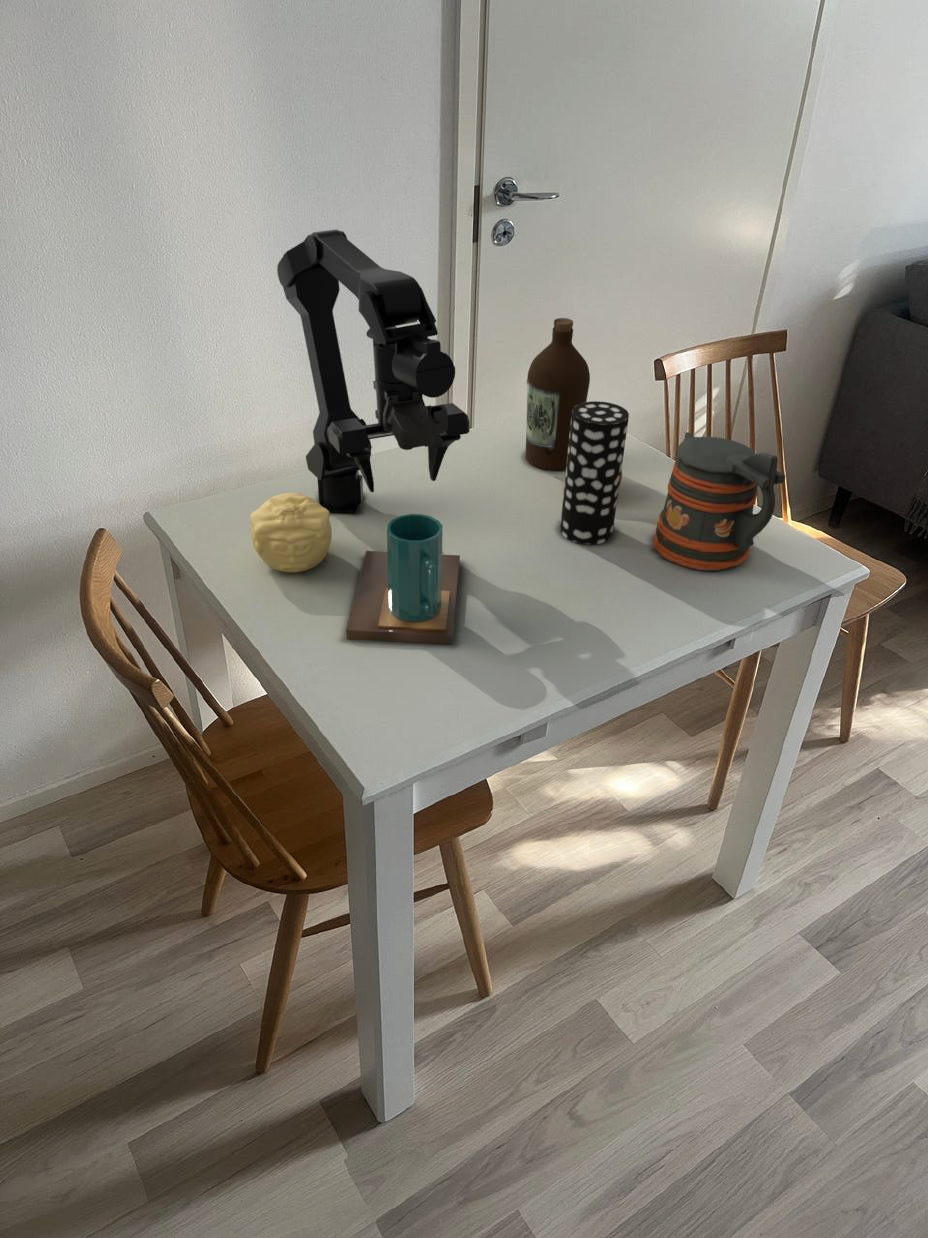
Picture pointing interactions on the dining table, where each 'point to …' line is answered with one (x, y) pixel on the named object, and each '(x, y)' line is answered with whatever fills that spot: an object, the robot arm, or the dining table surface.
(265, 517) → the sculpture
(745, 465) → the beer stein
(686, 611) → the dining table surface
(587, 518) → the spotted tube
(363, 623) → the board
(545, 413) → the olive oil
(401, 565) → the teal coffee mug
